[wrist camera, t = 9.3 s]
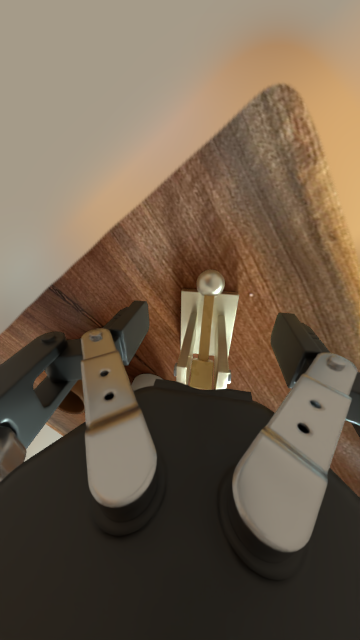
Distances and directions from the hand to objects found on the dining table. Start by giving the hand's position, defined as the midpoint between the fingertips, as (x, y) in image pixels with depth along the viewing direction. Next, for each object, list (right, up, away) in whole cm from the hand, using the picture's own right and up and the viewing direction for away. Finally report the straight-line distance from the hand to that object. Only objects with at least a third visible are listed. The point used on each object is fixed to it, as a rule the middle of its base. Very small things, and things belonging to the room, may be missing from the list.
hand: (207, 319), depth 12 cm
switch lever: (+1, -1, +11) cm, 11 cm away
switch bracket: (+2, 0, +18) cm, 18 cm away
